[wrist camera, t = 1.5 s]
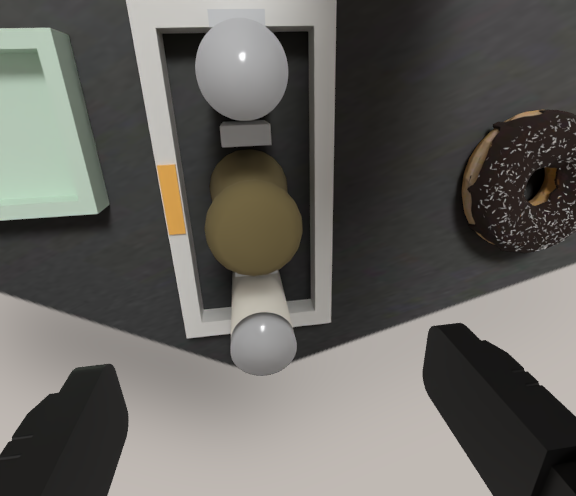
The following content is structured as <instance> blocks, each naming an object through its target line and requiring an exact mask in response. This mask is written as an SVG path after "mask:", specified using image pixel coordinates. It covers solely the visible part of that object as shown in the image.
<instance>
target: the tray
mask: <svg viewBox="0 0 576 496" xmlns="http://www.w3.org/2000/svg"><path fill="white" fill-rule="evenodd" d="M108 205H110V203H109V199H108V195H107V191H106V187H105V183H104V178H103V174H102V170H101V166H100V162H99V158H98V154H97V150H96V145H95V141H94V137H93V133H92V129H91V125H90V121H89V116H88V112H87V108H86V104H85V100H84V96H83V92H82V88H81V83H80V79H79V75H78V71H77V67H76V63H75V59H74V54H73V50H72V46H71V42H70V38H69V35H67V34H65V33H62V32H60V31H57V30H54V29H52V28H2V29H0V221H2V220H16V219H31V218H45V217H60V216H75V215H89V214H99V213H100V212H101V211H102V210H104V209H105V208H106V207H107V206H108Z"/></svg>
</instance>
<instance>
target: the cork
mask: <svg viewBox="0 0 576 496" xmlns="http://www.w3.org/2000/svg"><path fill="white" fill-rule="evenodd" d="M210 193H211V198H212V204H211V206H210V208H209V210H208V212H207V216H206V222H205V228H204V229H205V235H206V240H207V244H208V246H209V248H210V250H211V251H212V253H213V255H214V257H215V258H216V259H217V260H218V261H219V262H220V263H221V264H222V265H223V266H224V267H225V268H227V269H229V270H231V271H233V272H235V273H238V274H241V275H248V276H260V275H267V274H270V273H272V272H274V271H276V270H279V269H281V268H282V267H283V266H284V265H285V264H287V263H288V262H289V261H290V260H291V259H292V258H293V256H294V254H295V253H296V251H297V250H298V248H299V244H300V241H301V237H302V232H303V229H302V217H301V214H300V212H299V210H298V207H297V205H296V203H295V201H294V200H293V199H292V198H291V197H290V196H289V194H288V193H287V179H286V176H285V174H284V172H283V169H282V167H281V166H280V165H279V164H278V163H277V161H276V160H275V159H274V158H273V157H271V156H269V155H268V154H266V153H264V152H262V151H257V150H253V149H245V150H237V151H235V152H233V153H231V154H228V155H226V156H225V157H224V158H223V159H222V160H221V161H220V162H219V163H218V164H217V165H216V167H215V169H214V171H213V173H212V175H211V181H210Z"/></svg>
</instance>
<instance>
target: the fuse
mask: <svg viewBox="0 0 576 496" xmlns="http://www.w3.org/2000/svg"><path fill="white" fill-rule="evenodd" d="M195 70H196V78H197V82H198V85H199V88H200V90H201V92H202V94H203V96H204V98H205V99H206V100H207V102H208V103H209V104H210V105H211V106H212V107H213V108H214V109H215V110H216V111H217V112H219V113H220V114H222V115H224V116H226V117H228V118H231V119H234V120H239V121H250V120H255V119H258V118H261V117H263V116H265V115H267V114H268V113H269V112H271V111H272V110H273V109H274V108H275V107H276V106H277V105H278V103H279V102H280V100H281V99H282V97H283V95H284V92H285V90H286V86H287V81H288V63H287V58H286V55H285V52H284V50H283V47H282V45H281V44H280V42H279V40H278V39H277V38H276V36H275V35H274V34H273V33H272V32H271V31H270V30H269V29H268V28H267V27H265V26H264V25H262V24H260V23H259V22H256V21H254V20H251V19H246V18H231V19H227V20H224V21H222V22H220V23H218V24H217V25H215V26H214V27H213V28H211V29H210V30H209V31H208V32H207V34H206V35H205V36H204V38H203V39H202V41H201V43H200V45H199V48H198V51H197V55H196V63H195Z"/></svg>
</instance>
